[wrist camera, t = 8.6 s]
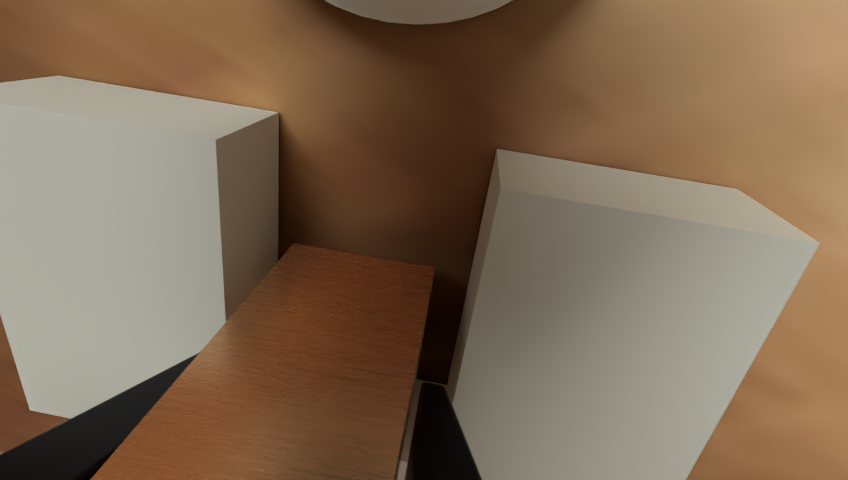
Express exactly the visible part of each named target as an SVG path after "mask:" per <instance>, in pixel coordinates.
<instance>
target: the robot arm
mask: <svg viewBox="0 0 848 480" xmlns="http://www.w3.org/2000/svg"><path fill="white" fill-rule="evenodd" d="M199 353H200V352H199ZM199 353H197V354H195V355H193V356H191V357H190V358H188V359H186V360H184V361H182V362H180V363H178V364H176V365H174V366H172V367H170V368H168V369H166V370H164V371H162V372H160V373H158V374H157V375H155V376H153V377H151V378H149V379H147V380H145V381H143V382H141V383H139V384H137V385H135V386H133V387H131V388H129V389H127V390H125V391H123V392H122V393H120V394H118V395H116V396H114V397H112V398H110V399H108V400H106V401H104V402H102V403H100V404H98V405H96V406H94V407H92V408H90V409H89V410H87V411H85V412H83V413H81V414H79V415H77V416H75V417H73V418H71V419H69V420H67V421H65V422H63V423H61V424H59V425H57V426H56V427H54V428H52V429H50V430H48V431H46V432H44V433H42V434H40V435H38V436H36V437H34V438H32V439H30V440H28V441H26V442H24V443H23V444H21V445H19V446H17V447H15V448H13V449H11V450H9V451H7V452H5V453H3V454H1V455H0V480H90V479H91V478H92V477H93V476H94V475H95V474H96V472H97V471H98V470H99V469H100V468H101V467H102V466H103V464H104V463H105V462H106V461H107V460H108V459H109V457H110V456H111V455H112V454H113V453H114V452H115V450H116V449H117V448H118V447H119V446H120V445H121V443H122V442H123V441H124V440H125V439H126V438H127V436H128V435H129V434H130V433H131V432H132V431H133V429H134V428H135V427H136V426H137V425H138V424H139V423H140V421H141V420H142V419H143V418H144V417H145V416H146V414H147V413H148V412H149V411H150V410H151V409H152V407H153V406H154V405H155V404H156V403H157V402H158V400H159V399H160V398H161V397H162V396H163V395H164V393H165V392H166V391H167V390H168V389H169V388H170V386H171V385H172V384H173V383H174V382H175V381H176V380H177V378H178V377H179V376H180V375H181V374H182V373H183V371H184V370H185V369H186V368H187V367H188V366H189V364H190V363H191V362H192V361H193V360H194V359H195V357H196V356H197V355H198V354H199ZM405 480H482V478H481V475H480V473H479V470H478V468H477V465H476V463H475V460H474V458H473V455H472V453H471V450H470V448H469V445H468V443H467V440H466V438H465V435H464V433H463V430H462V428H461V425H460V423H459V420H458V418H457V415H456V413H455V410H454V408H453V405H452V403H451V400H450V398H449V395H448V393H447V390H446V388H445V387H444V386H443V385H439V384H434V383H429V382H423V383H422V385H421V389H420V395H419V400H418V406H417V411H416V417H415V422H414V428H413V434H412V440H411V445H410V451H409V457H408V463H407V468H406V474H405Z"/></svg>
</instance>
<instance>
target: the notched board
mask: <svg viewBox="0 0 848 480" xmlns="http://www.w3.org/2000/svg"><path fill="white" fill-rule="evenodd" d="M278 196H279V112H274V111H268V110H262V109H256V108H250V107H244V106H238V105H232V104H226V103H220V102H214V101H208V100H202V99H196V98H190V97H184V96H178V95H172V94H166V93H160V92H154V91H148V90H142V89H136V88H130V87H124V86H118V85H112V84H106V83H100V82H94V81H88V80H82V79H76V78H70V77H64V76H51V77H43V78H35V79H27V80H19V81H11V82H3V83H0V315H1V318H2V321H3V325H4V328H5V331H6V334H7V338H8V341H9V344H10V347H11V350H12V354H13V357H14V360H15V363H16V367H17V370H18V373H19V376H20V380H21V383H22V386H23V389H24V393H25V396H26V399H27V402H28V406H29V409H30V410H31V411H36V412H41V413H46V414H51V415H56V416H61V417H66V418H73V417H75V416H77V415H79V414H81V413H83V412H85V411H87V410H89V409H90V408H92V407H94V406H96V405H98V404H100V403H102V402H104V401H106V400H108V399H110V398H112V397H114V396H116V395H118V394H120V393H122V392H123V391H125V390H127V389H129V388H131V387H133V386H135V385H137V384H139V383H141V382H143V381H145V380H147V379H149V378H151V377H153V376H155V375H157V374H158V373H160V372H162V371H164V370H166V369H168V368H170V367H172V366H174V365H176V364H178V363H180V362H182V361H184V360H186V359H188V358H190V357H191V356H193V355H195V354H197V353H199V352H201V350H202V349H203V348H204V347H205V346H206V345H207V344H208V342H209V341H210V340H211V339H212V338H213V337H214V335H215V334H216V333H217V332H218V331H219V330H220V328H221V327H222V326H223V325H224V324H225V323H226V321H227V320H228V319H229V318H230V317H231V316H232V314H233V313H234V312H235V311H236V310H237V309H238V307H239V306H240V305H241V304H242V303H243V302H244V301H245V299H246V298H247V297H248V296H249V295H250V294H251V292H252V291H253V290H254V289H255V288H256V287H257V285H258V284H259V283H260V282H261V281H262V280H263V278H264V277H265V276H266V275H267V274H268V273H269V271H270V270H271V269H272V268H273V267H274V266H275V264H276V263H277V262H278ZM819 244H820V243H819V242H817V241H816V240H814V239H813V238H811V237H810V236H808V235H807V234H805V233H804V232H802V231H801V230H799V229H798V228H796V227H795V226H793V225H792V224H790V223H789V222H787V221H785V220H784V219H782V218H781V217H779V216H778V215H776V214H775V213H773V212H772V211H770V210H769V209H767V208H766V207H764V206H763V205H761V204H760V203H758V202H757V201H755V200H754V199H752V198H750V197H749V196H747V195H746V194H744V193H743V192H741V191H740V190H738V189H735V188H729V187H723V186H717V185H711V184H705V183H699V182H693V181H687V180H681V179H675V178H669V177H663V176H657V175H651V174H645V173H639V172H633V171H627V170H621V169H615V168H609V167H603V166H597V165H591V164H585V163H579V162H573V161H568V160H562V159H556V158H550V157H544V156H538V155H532V154H526V153H520V152H514V151H508V150H502V149H497V150H496V154H495V159H494V164H493V169H492V173H491V178H490V183H489V188H488V192H487V197H486V202H485V207H484V211H483V216H482V221H481V226H480V230H479V235H478V240H477V245H476V250H475V254H474V259H473V264H472V269H471V273H470V278H469V283H468V288H467V292H466V297H465V302H464V307H463V311H462V316H461V321H460V326H459V330H458V335H457V340H456V345H455V349H454V354H453V359H452V364H451V368H450V373H449V378H448V383H447V385H444V384H439V383H434V382H429V381H423V380H418V379H416V384H415V389H414V395H413V400H412V405H411V411H410V416H409V421H408V427H407V432H406V437H405V443H404V448H403V454H402V459H401V464H400V470H399V475H398V480H405V474H406V468H407V463H408V457H409V451H410V445H411V440H412V434H413V428H414V422H415V417H416V411H417V406H418V400H419V395H420V389H421V385H422V383H423V382H429V383H434V384H439V385H443V386H444V387H445V388H446V390H447V393H448V395H449V398H450V400H451V403H452V405H453V408H454V410H455V413H456V415H457V418H458V420H459V423H460V425H461V428H462V430H463V433H464V435H465V438H466V440H467V443H468V445H469V448H470V450H471V453H472V455H473V458H474V460H475V463H476V465H477V468H478V470H479V473H480V475H481V478H482V480H686V478H687V477H688V475H689V473H690V471H691V470H692V468H693V466H694V464H695V463H696V461H697V459H698V457H699V456H700V454H701V452H702V450H703V448H704V447H705V445H706V443H707V441H708V440H709V438H710V436H711V434H712V433H713V431H714V429H715V427H716V426H717V424H718V422H719V420H720V419H721V417H722V415H723V413H724V411H725V410H726V408H727V406H728V404H729V403H730V401H731V399H732V397H733V396H734V394H735V392H736V390H737V389H738V387H739V385H740V383H741V382H742V380H743V378H744V376H745V374H746V373H747V371H748V369H749V367H750V366H751V364H752V362H753V360H754V359H755V357H756V355H757V353H758V352H759V350H760V348H761V346H762V345H763V343H764V341H765V339H766V337H767V336H768V334H769V332H770V330H771V329H772V327H773V325H774V323H775V322H776V320H777V318H778V316H779V315H780V313H781V311H782V309H783V308H784V306H785V304H786V302H787V300H788V299H789V297H790V295H791V293H792V292H793V290H794V288H795V286H796V285H797V283H798V281H799V279H800V278H801V276H802V274H803V272H804V271H805V269H806V267H807V265H808V263H809V262H810V260H811V258H812V256H813V255H814V253H815V251H816V249H817V248H818V246H819Z"/></svg>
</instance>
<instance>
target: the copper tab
mask: <svg viewBox="0 0 848 480" xmlns="http://www.w3.org/2000/svg"><path fill="white" fill-rule="evenodd" d="M434 271H435V268H433V267H427V266H422V265H416V264H410V263H405V262H399V261H393V260H388V259H382V258H376V257H371V256H365V255H359V254H353V253H348V252H342V251H336V250H331V249H325V248H319V247H314V246H308V245H302V244H297V243H294V244H293V245H292V246H291V247H290V248H289V249H288V251H287V252H286V253H285V254H284V255H283V256H282V258H281V259H280V260H279V261H278V262H277V263H276V264H275V266H274V267H273V268H272V269H271V270H270V271H269V273H268V274H267V275H266V276H265V277H264V278H263V280H262V281H261V282H260V283H259V284H258V285H257V287H256V288H255V289H254V290H253V291H252V292H251V294H250V295H249V296H248V297H247V298H246V299H245V301H244V302H243V303H242V304H241V305H240V306H239V307H238V309H237V310H236V311H235V312H234V313H233V314H232V316H231V317H230V318H229V319H228V320H227V321H226V323H225V324H224V325H223V326H222V327H221V328H220V330H219V331H218V332H217V333H216V334H215V335H214V337H213V338H212V339H211V340H210V341H209V342H208V344H207V345H206V346H205V347H204V348H203V349H202V350H201V352H200V353H199V354H198V355H197V356H196V357H195V359H194V360H193V361H192V362H191V363H190V364H189V366H188V367H187V368H186V369H185V370H184V371H183V373H182V374H181V375H180V376H179V377H178V378H177V380H176V381H175V382H174V383H173V384H172V385H171V386H170V388H169V389H168V390H167V391H166V392H165V393H164V395H163V396H162V397H161V398H160V399H159V400H158V402H157V403H156V404H155V405H154V406H153V407H152V409H151V410H150V411H149V412H148V413H147V414H146V416H145V417H144V418H143V419H142V420H141V421H140V423H139V424H138V425H137V426H136V427H135V428H134V429H133V431H132V432H131V433H130V434H129V435H128V436H127V438H126V439H125V440H124V441H123V442H122V443H121V445H120V446H119V447H118V448H117V449H116V450H115V452H114V453H113V454H112V455H111V456H110V457H109V459H108V460H107V461H106V462H105V463H104V464H103V466H102V467H101V468H100V469H99V470H98V471H97V472H96V474H95V475H94V476H93V477H92V478H91V479H90V480H398V475H399V470H400V464H401V459H402V454H403V448H404V443H405V437H406V432H407V427H408V421H409V416H410V411H411V405H412V400H413V395H414V389H415V384H416V379H417V373H418V367H419V361H420V355H421V349H422V343H423V337H424V331H425V325H426V319H427V313H428V307H429V301H430V295H431V289H432V283H433V277H434Z"/></svg>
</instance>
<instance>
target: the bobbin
mask: <svg viewBox="0 0 848 480" xmlns="http://www.w3.org/2000/svg"><path fill="white" fill-rule="evenodd" d="M325 1H326V2H328V3H330V4H332V5H334V6H336V7H338V8H341V9H344V10H346V11H349V12H351V13H354V14H357V15H359V16H362V17H367V18H371V19H375V20H380V21H384V22H390V23H402V24H414V25H419V24H436V23H449V22H454V21H458V20H463V19H468V18H473V17H475V16H478V15H481V14H484V13H487V12H489V11H492V10H495V9H498V8H499V7H501V6H503V5H505V4H507V3H509V2H511V1H513V0H325Z"/></svg>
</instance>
